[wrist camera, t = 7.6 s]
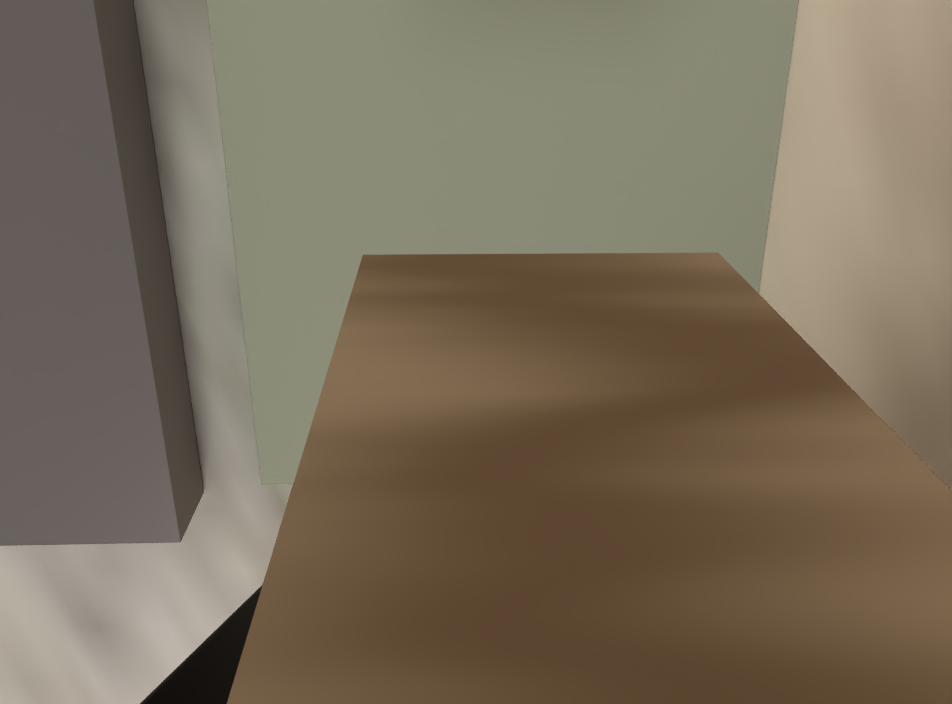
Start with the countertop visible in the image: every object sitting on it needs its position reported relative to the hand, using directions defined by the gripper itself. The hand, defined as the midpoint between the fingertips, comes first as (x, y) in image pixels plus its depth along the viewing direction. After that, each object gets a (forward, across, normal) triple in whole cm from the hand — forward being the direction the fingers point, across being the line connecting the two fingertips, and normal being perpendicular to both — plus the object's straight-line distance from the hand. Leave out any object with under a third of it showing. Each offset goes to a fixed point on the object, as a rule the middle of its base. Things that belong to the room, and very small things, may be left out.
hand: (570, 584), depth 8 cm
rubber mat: (+11, 0, 0) cm, 11 cm away
